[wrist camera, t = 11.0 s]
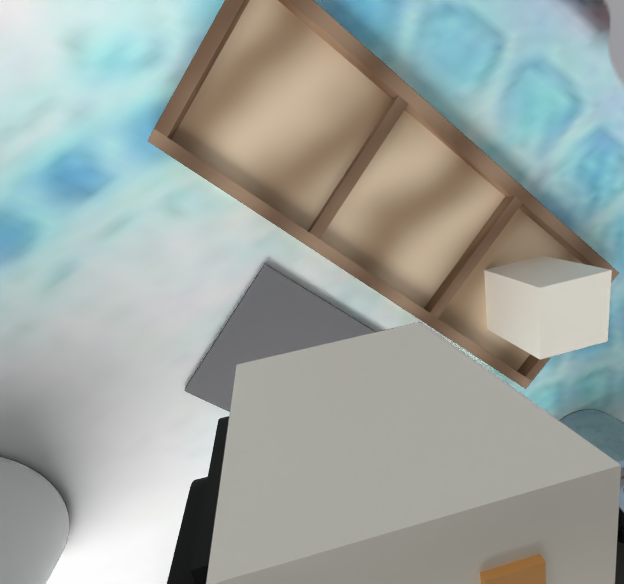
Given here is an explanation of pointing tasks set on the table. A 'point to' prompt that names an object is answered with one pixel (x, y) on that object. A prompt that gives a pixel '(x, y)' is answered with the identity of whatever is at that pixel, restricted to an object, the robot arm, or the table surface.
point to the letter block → (405, 474)
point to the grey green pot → (598, 431)
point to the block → (548, 305)
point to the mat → (269, 332)
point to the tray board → (359, 169)
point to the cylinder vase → (29, 525)
